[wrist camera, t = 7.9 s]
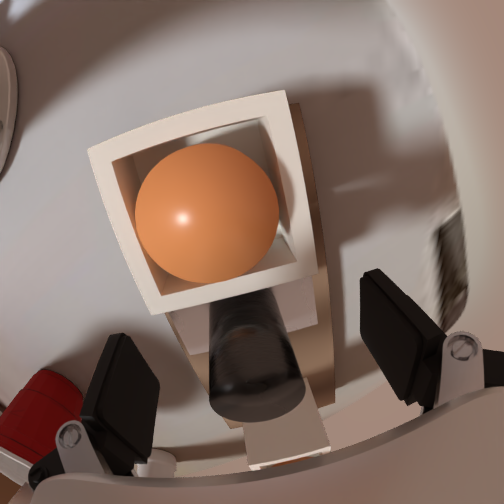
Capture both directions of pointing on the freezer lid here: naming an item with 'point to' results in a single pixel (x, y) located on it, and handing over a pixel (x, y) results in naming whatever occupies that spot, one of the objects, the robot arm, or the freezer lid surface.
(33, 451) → the plastic cup
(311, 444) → the pair of ball holders
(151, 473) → the bottle
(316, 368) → the rail board
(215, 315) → the carriage
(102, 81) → the freezer lid surface
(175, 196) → the ball
